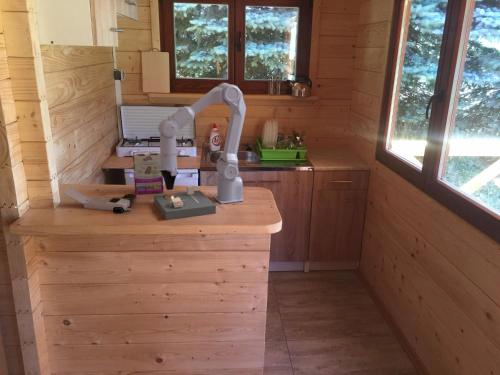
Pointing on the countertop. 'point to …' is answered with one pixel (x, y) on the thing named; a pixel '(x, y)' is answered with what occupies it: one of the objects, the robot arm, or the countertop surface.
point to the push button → (169, 196)
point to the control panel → (185, 205)
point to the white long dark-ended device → (98, 201)
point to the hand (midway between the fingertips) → (169, 189)
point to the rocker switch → (177, 202)
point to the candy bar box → (147, 172)
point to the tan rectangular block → (190, 190)
